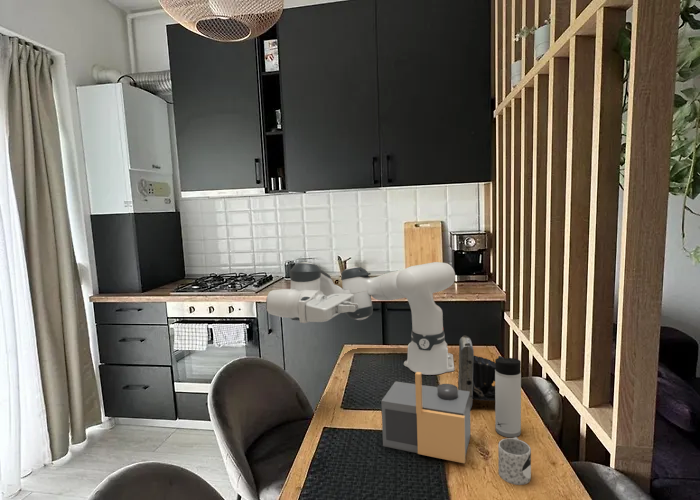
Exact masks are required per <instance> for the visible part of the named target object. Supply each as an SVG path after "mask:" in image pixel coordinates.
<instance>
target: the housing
mask: <svg viewBox="0 0 700 500" xmlns="http://www.w3.org/2000/svg"><path fill="white" fill-rule="evenodd" d="M380 405H381V425H382V426H381V427H382V428H381V430H382V447H385V448H389V449H390V448H391V449H396V450H399V451H405V452H409V453H410V452H411V453H414V454H415V453H416V454H418V442H417V413H416V388H415V383H411V382H410V383H409V382H402V381H394V382H393V384H392V385H391V387H390V388H389V390H388V391H387V392H386V394H385V395H384V396H383V398H382V399H381V404H380ZM422 409H424V410H431V411H437V412H443V413H450V414H456V415H462V416H465V458H466V457H467V452H468V449H469V443H470V439H471V408H470V391H462V390H458V386H456V385H455V384H453V383H452V384H451V383H440V384H438V385H437V386H432V385H423V384H422Z"/></svg>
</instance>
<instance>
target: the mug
mask: <svg viewBox="0 0 700 500" xmlns="http://www.w3.org/2000/svg"><path fill="white" fill-rule="evenodd" d="M497 444H498V448H497V450H498V475H499V477H500V478H501V480H502V481H503V480H504V481H505V482H507V483H508V484H511V485H516V486H522V485H523V486H524V485H527V484H528V483H530V482H531V481H532V480H531V478H532V477H531V476H532V475H531V474H532V448H531V446H530V445H529V444H528V443H527V442H525V441H523V440H521V439H519V438H518V436H517V437H513V438H510V437H505V438H503V439H501V440H499V442H498V443H497Z"/></svg>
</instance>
